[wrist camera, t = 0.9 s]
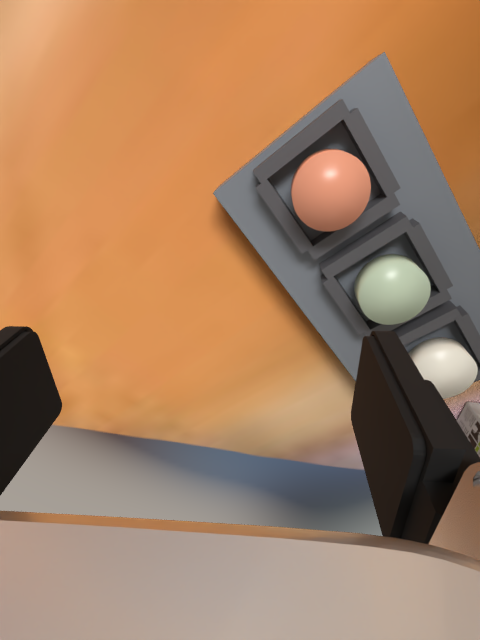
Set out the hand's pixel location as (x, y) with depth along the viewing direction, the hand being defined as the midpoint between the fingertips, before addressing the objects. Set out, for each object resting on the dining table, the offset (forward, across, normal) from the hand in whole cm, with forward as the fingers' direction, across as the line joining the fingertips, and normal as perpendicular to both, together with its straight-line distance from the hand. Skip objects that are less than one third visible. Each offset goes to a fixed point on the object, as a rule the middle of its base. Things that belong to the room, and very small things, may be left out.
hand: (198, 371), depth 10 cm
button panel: (+23, -11, +5) cm, 26 cm away
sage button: (+18, -11, +5) cm, 22 cm away
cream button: (+19, -17, +12) cm, 28 cm away
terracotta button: (+18, -6, -2) cm, 19 cm away
